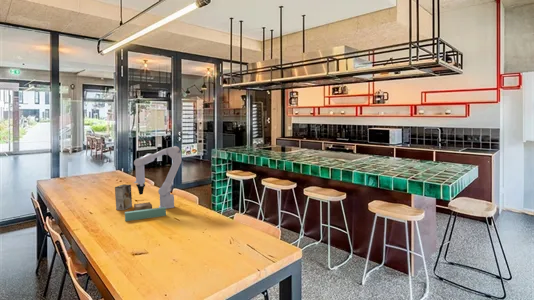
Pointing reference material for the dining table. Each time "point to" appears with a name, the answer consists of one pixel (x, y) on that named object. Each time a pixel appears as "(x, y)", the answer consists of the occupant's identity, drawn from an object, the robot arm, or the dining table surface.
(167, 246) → the dining table surface
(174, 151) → the robot arm
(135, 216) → the teal board
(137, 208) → the walnut block
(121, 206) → the coffee box
